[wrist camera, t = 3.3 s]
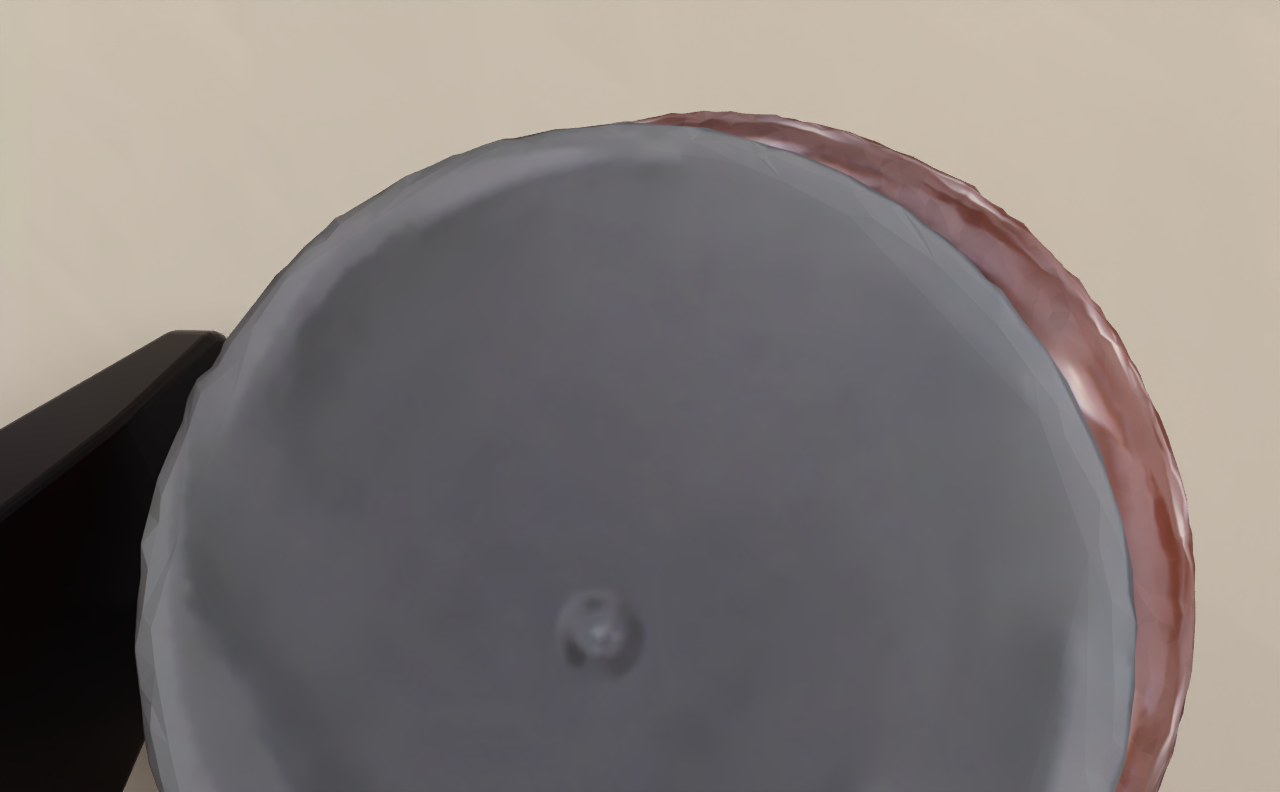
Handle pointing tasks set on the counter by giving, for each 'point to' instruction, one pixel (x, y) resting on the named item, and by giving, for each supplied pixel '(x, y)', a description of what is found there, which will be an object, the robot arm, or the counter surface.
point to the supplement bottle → (669, 491)
